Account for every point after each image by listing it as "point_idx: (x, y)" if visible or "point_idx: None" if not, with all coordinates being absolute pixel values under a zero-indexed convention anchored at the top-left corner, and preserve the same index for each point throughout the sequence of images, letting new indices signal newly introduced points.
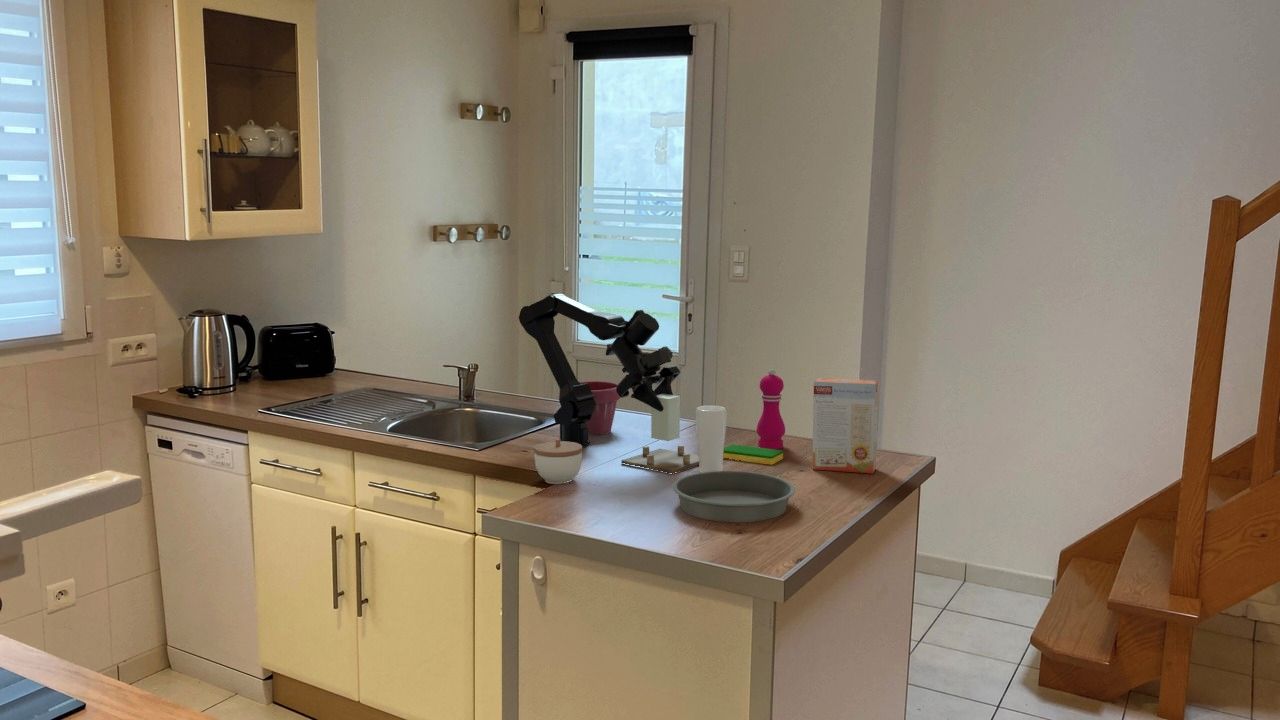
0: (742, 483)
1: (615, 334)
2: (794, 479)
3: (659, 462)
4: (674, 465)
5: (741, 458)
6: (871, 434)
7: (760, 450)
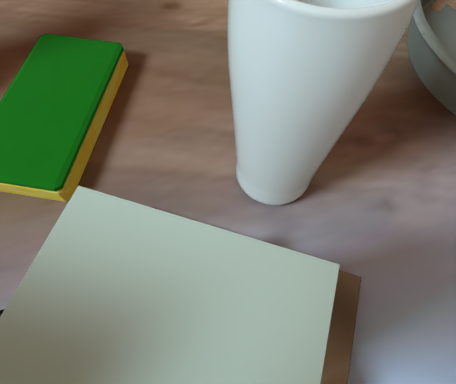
0: (421, 51)
1: None
2: None
3: None
4: None
5: (96, 129)
6: None
7: (52, 77)
